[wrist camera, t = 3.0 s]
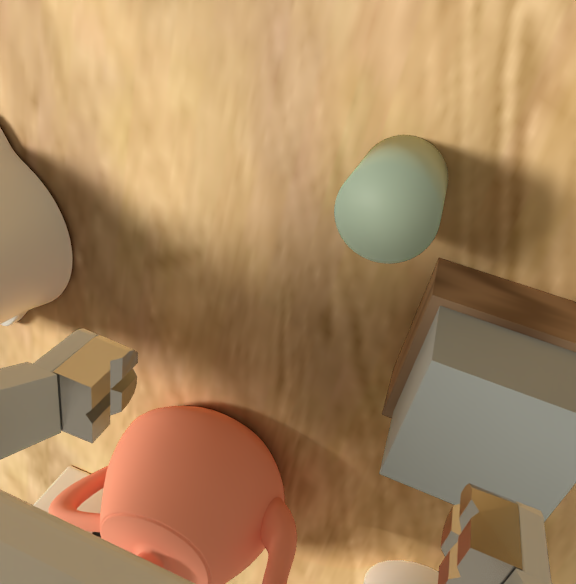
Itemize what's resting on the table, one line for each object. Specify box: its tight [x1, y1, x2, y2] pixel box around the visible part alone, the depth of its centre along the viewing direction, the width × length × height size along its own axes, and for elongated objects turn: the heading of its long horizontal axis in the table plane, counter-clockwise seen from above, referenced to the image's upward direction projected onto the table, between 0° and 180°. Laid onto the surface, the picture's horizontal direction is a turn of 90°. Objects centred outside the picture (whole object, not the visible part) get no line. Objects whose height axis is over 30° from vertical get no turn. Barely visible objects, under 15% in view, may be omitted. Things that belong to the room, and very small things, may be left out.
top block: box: [379, 306, 576, 522], centre depth 26 cm, size 8×8×5 cm
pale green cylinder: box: [334, 135, 448, 264], centre depth 27 cm, size 5×5×6 cm
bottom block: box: [382, 258, 576, 418], centre depth 30 cm, size 9×9×5 cm
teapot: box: [49, 406, 297, 584], centre depth 41 cm, size 22×15×12 cm
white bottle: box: [33, 466, 103, 538], centre depth 51 cm, size 7×7×12 cm
